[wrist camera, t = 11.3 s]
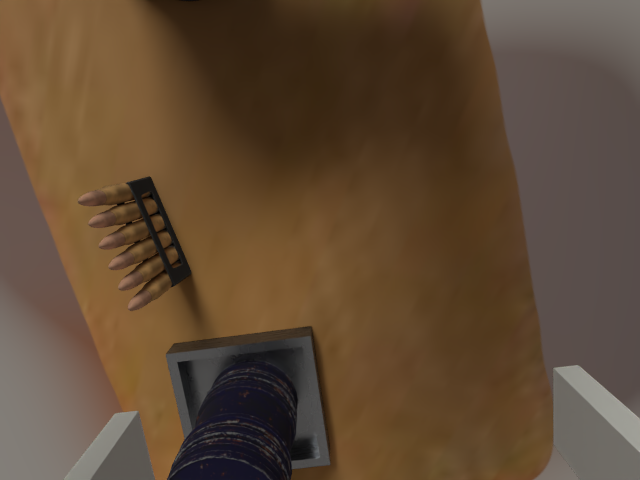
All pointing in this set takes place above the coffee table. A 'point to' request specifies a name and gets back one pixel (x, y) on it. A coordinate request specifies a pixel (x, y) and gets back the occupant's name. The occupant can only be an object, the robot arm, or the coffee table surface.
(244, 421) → the storage jar
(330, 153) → the coffee table surface
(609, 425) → the robot arm
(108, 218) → the ammunition clip
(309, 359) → the cradle tray
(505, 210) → the coffee table surface
